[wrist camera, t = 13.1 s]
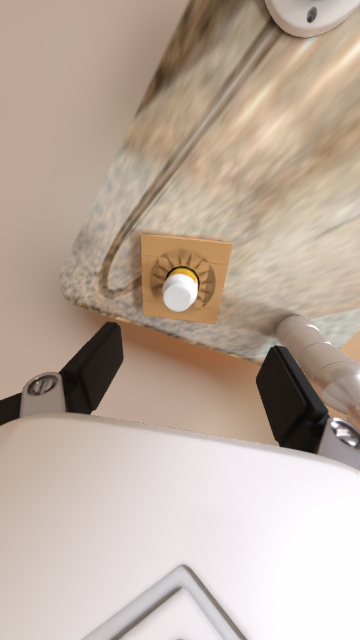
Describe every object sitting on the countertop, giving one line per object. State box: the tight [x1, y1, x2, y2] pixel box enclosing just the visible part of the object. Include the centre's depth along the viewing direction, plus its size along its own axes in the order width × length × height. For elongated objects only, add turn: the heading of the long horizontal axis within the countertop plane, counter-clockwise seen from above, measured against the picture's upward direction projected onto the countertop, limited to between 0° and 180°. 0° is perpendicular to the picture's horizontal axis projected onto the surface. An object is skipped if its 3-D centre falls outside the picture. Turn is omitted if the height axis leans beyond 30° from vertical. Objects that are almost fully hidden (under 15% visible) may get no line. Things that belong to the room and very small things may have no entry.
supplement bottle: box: [162, 266, 198, 312], centre depth 28 cm, size 5×5×10 cm
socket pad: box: [141, 234, 233, 324], centre depth 30 cm, size 14×14×3 cm
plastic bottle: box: [276, 315, 360, 430], centre depth 25 cm, size 6×7×20 cm
